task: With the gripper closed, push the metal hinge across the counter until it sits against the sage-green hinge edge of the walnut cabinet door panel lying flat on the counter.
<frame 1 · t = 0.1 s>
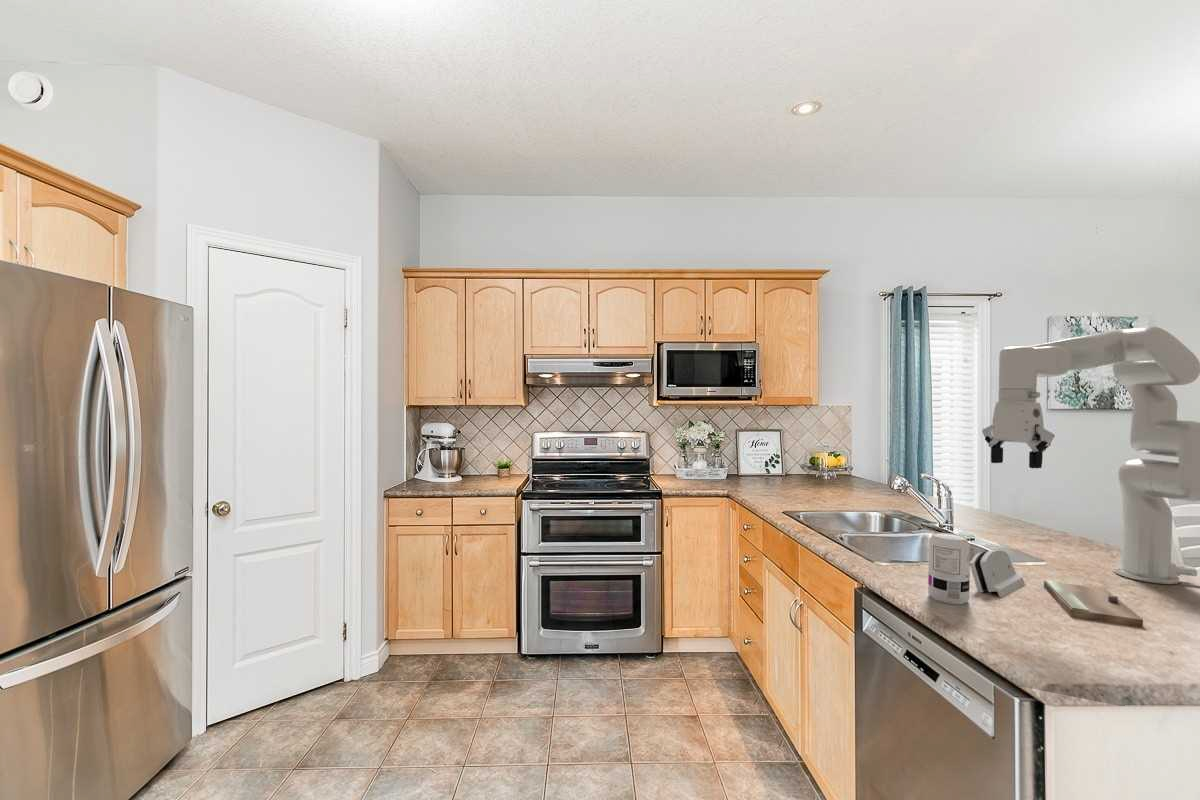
hand: (1015, 465, 138), 31 cm above the worktop, tool pointing down, fingers open, 9 cm apart
supplement can: (948, 599, 132), on the worktop
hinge: (995, 587, 141), on the worktop
door panel: (1088, 604, 129), on the worktop
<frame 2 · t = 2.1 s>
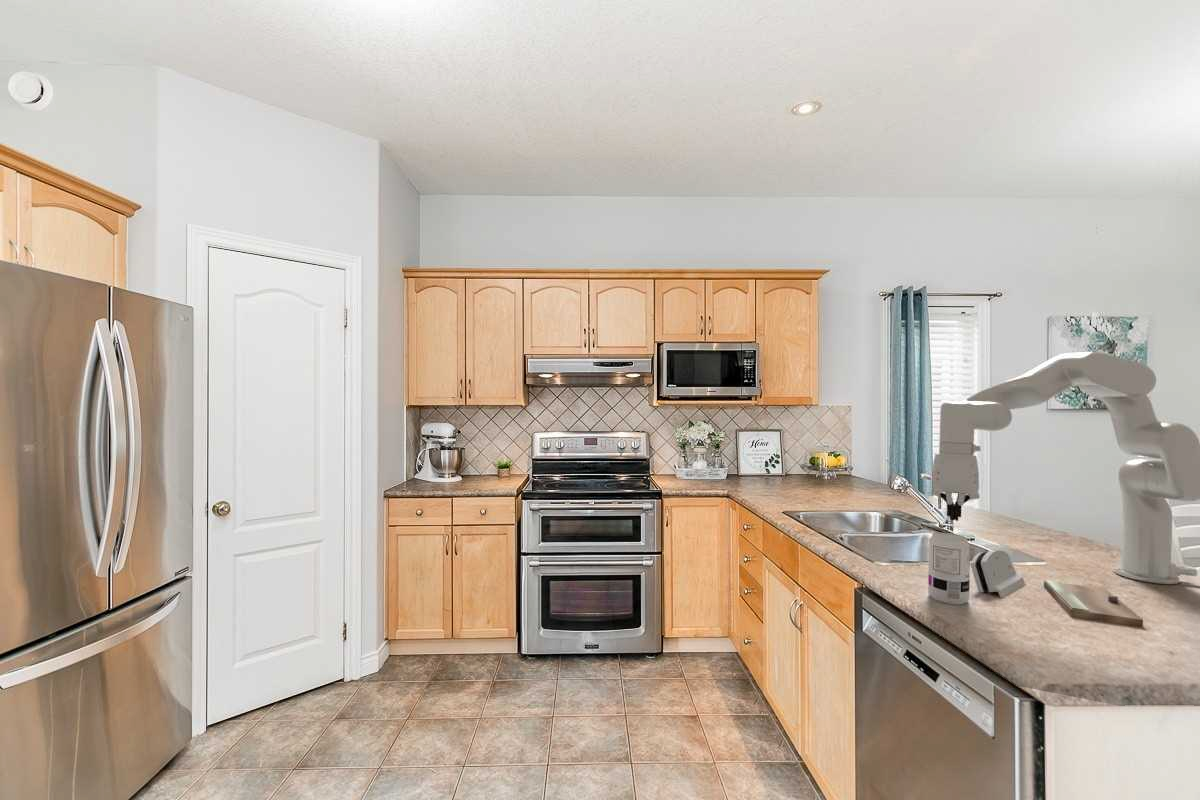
hand: (953, 519, 144), 16 cm above the worktop, tool pointing down, fingers closed
nothing on the worktop moved.
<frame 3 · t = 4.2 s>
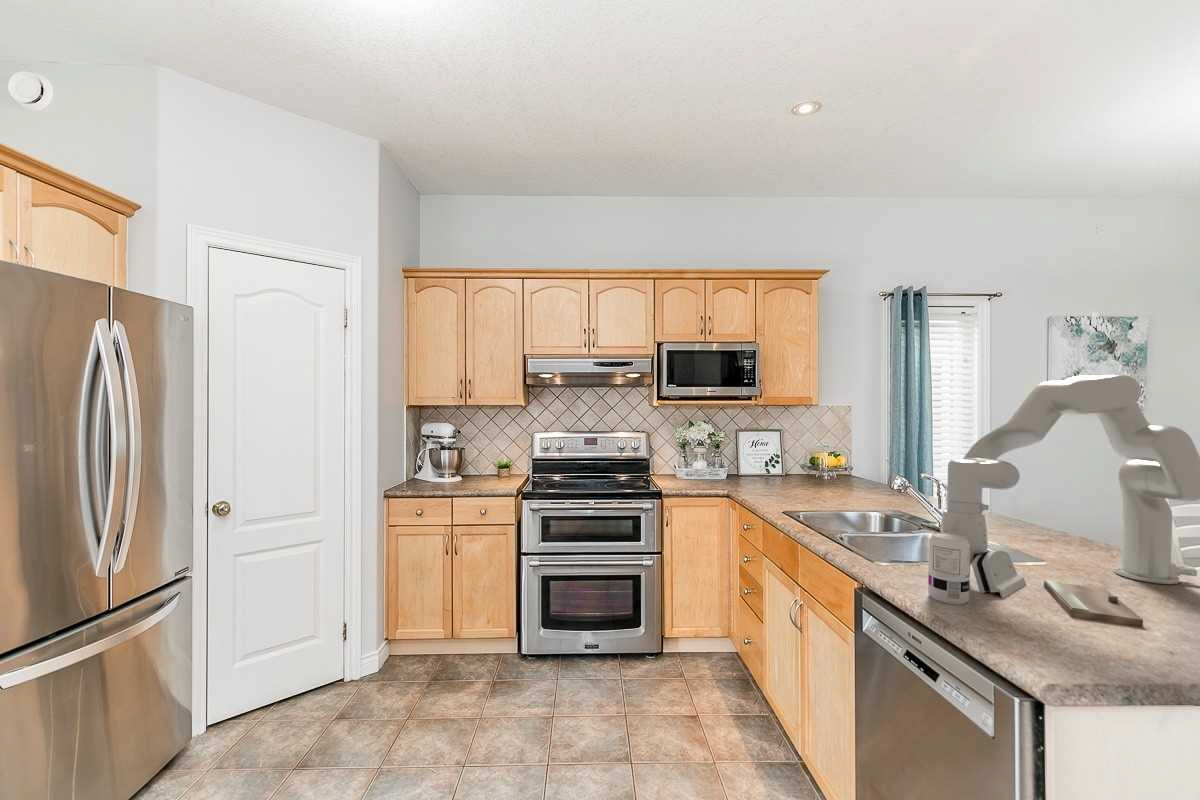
hand: (962, 577, 144), 1 cm above the worktop, tool pointing down, fingers closed
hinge: (997, 588, 140), on the worktop, touching gripper
everything else where it was.
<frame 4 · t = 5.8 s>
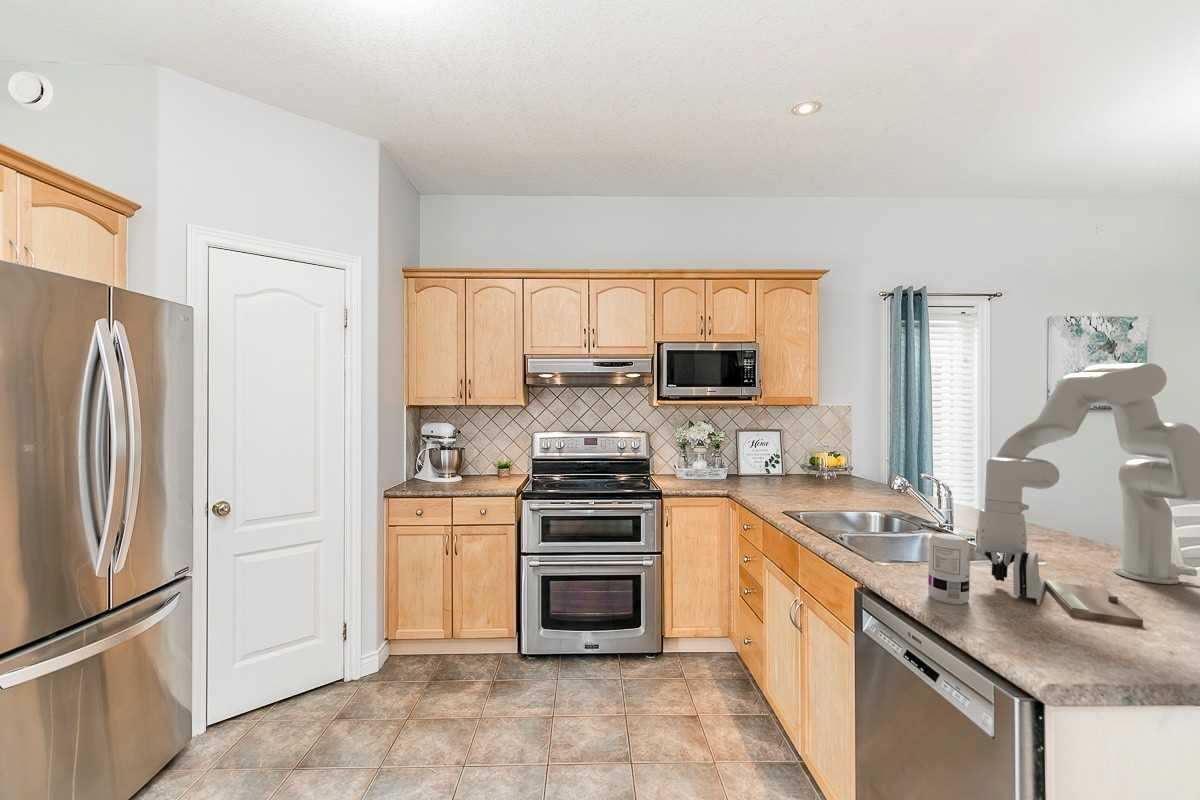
hand: (999, 579, 140), 2 cm above the worktop, tool pointing down, fingers closed
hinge: (1022, 589, 136), point 1 cm above the worktop, touching door panel, gripper
everything else where it was.
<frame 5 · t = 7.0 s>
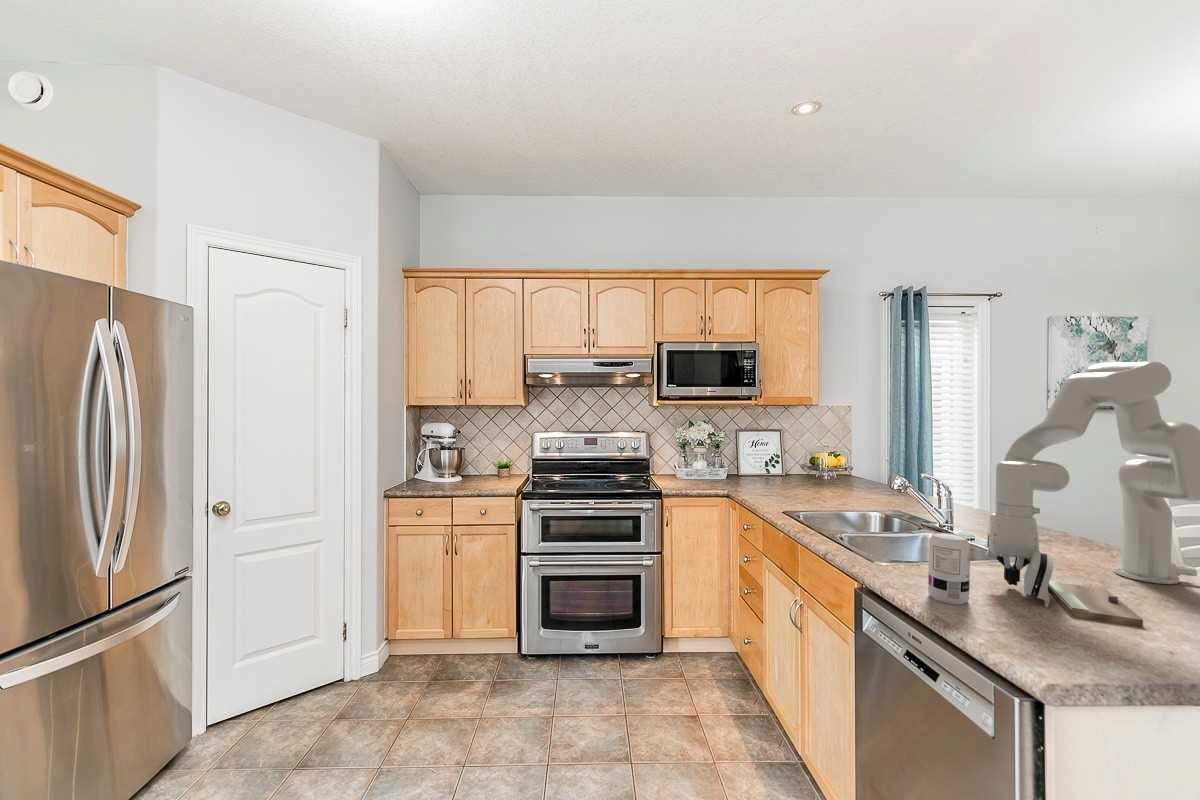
hand: (1011, 583, 139), 1 cm above the worktop, tool pointing down, fingers closed
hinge: (1028, 587, 135), point 2 cm above the worktop, touching gripper
everything else where it was.
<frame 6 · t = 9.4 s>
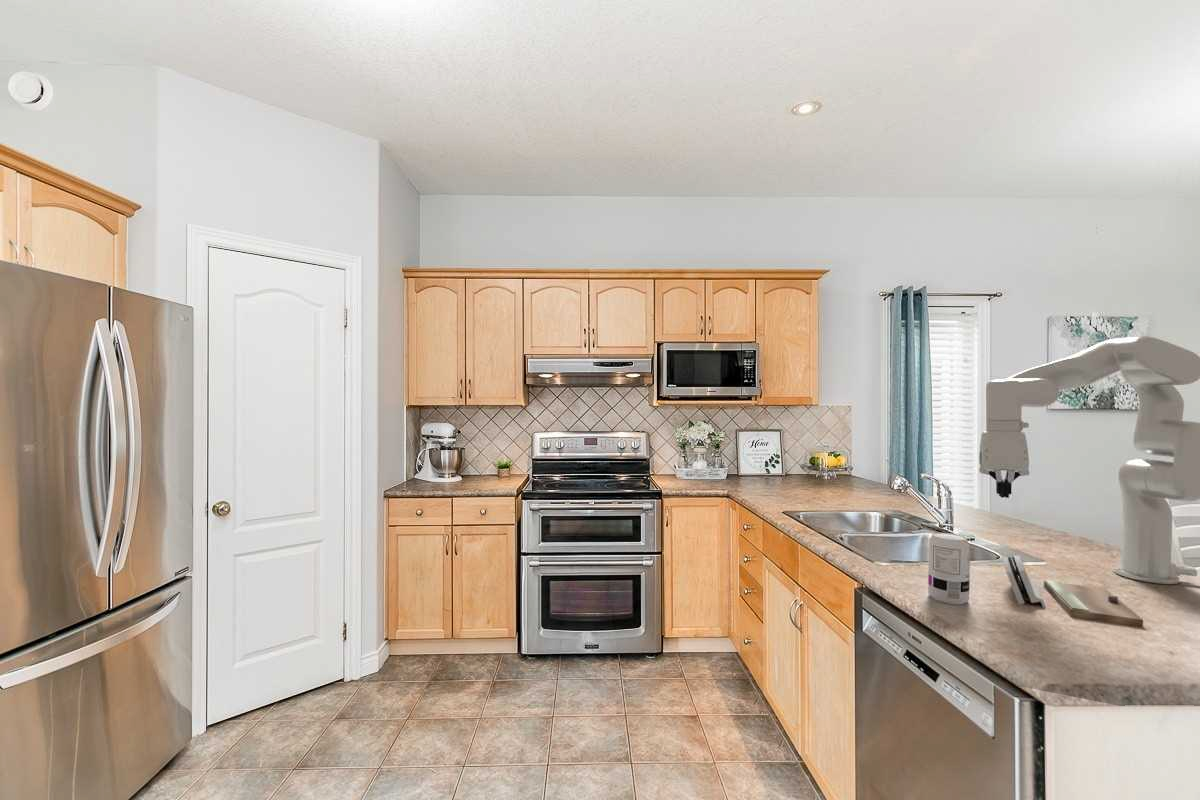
hand: (1003, 496, 145), 22 cm above the worktop, tool pointing down, fingers closed
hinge: (1021, 595, 136), on the worktop
everything else where it was.
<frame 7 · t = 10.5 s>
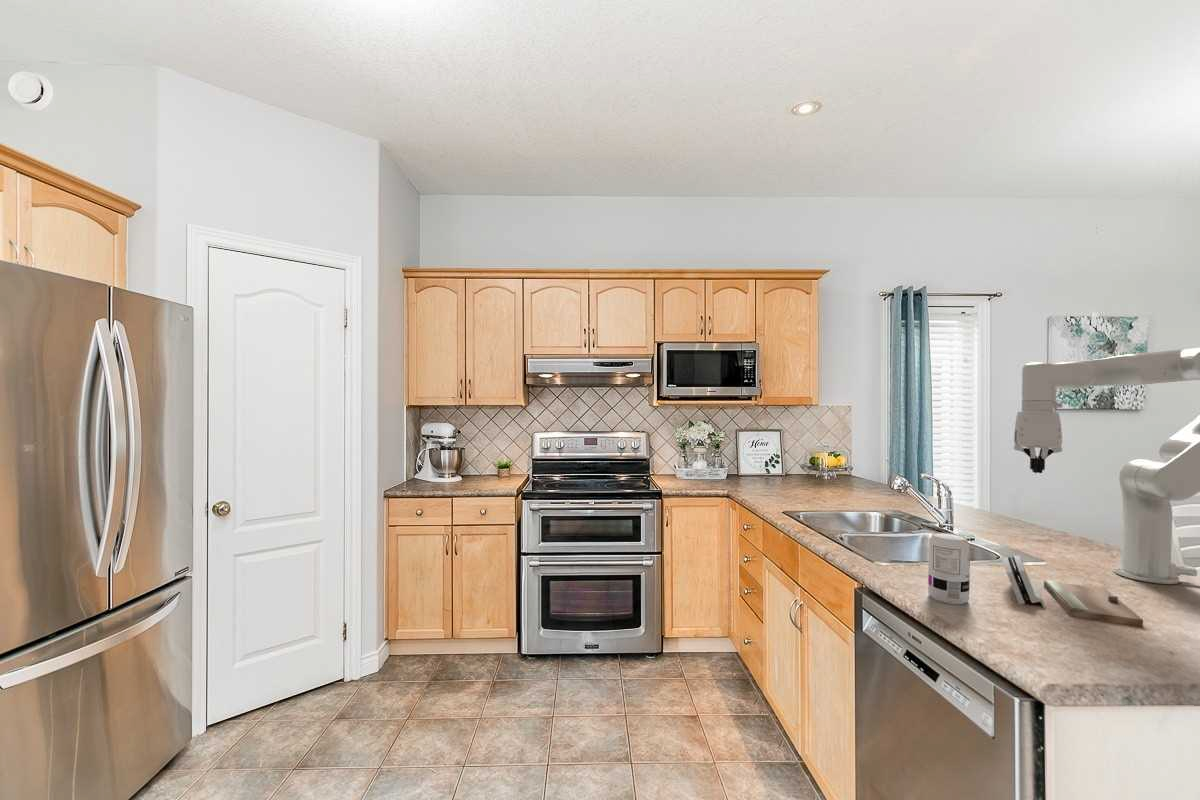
hand: (1037, 472, 155), 27 cm above the worktop, tool pointing down, fingers closed
nothing on the worktop moved.
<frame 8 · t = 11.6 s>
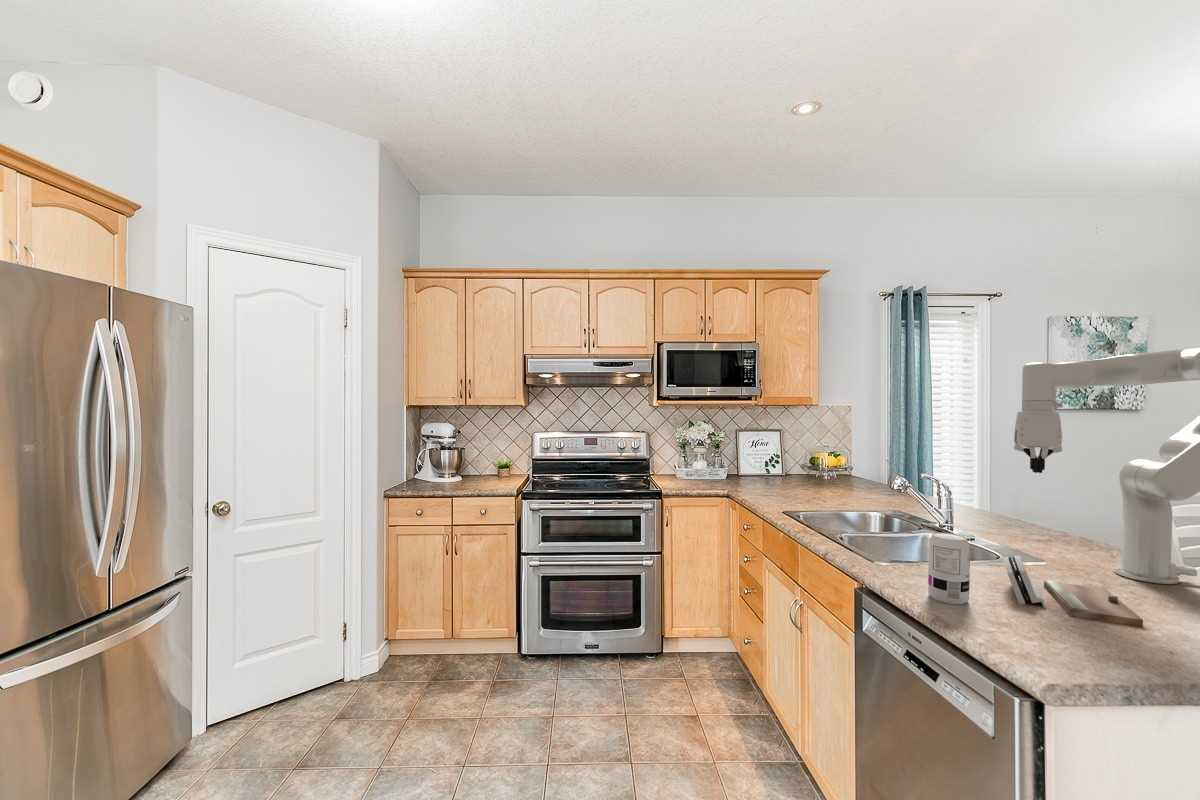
hand: (1037, 472, 155), 27 cm above the worktop, tool pointing down, fingers closed
nothing on the worktop moved.
at the end: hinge inside the target area on the worktop beside the door panel (3.4 cm from its centre), on the worktop; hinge moved 5.9 cm from its start; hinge tilted 0° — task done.
